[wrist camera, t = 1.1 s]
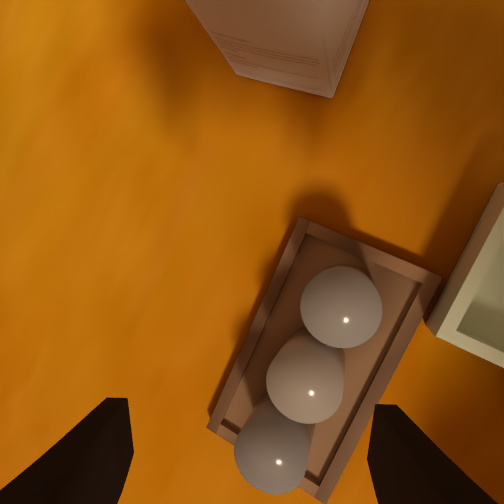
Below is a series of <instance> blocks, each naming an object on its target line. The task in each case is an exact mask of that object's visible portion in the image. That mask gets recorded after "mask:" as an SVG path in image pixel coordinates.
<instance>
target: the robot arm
mask: <svg viewBox="0 0 504 504" xmlns="http://www.w3.org/2000/svg"><path fill="white" fill-rule="evenodd" d="M133 454H134V449H133V441H132V432H131V424H130V415H129V407H128V399H127V398H106V399H105V400H104V401H102V402H101V403H100V404H99V405H98V406H97V407H96V408H95V409H94V410H92V411H91V412H90V413H89V414H88V415H87V416H86V417H85V418H84V419H82V420H81V421H80V422H79V423H78V424H77V425H76V426H75V427H74V428H73V429H72V430H70V431H69V432H68V433H67V434H66V435H65V436H64V437H63V438H62V439H60V440H59V441H58V442H57V443H56V444H55V445H54V446H52V447H51V448H50V449H49V450H48V451H47V452H46V453H44V454H43V455H42V456H41V457H40V458H39V459H38V460H36V461H35V462H34V463H33V464H32V465H30V466H29V467H28V468H27V469H26V470H24V471H23V472H22V473H21V474H19V475H18V476H17V477H16V478H15V479H13V480H12V481H11V482H10V483H9V484H7V485H6V486H5V487H4V488H2V489H1V490H0V504H117V503H118V500H119V498H120V496H121V493H122V490H123V487H124V484H125V481H126V478H127V475H128V471H129V468H130V464H131V461H132V458H133ZM367 461H368V465H369V469H370V474H371V478H372V482H373V486H374V490H375V493H376V497H377V501H378V503H379V504H498V503H497V502H495V501H494V500H493V499H492V498H491V497H490V496H489V495H488V494H487V493H485V492H484V491H483V490H482V489H481V488H480V487H479V486H478V485H477V484H476V483H474V482H473V481H472V480H471V479H470V478H469V477H468V476H467V475H466V474H465V473H464V472H463V471H462V470H461V469H460V468H459V467H458V466H457V465H456V464H455V463H453V462H452V461H451V460H450V459H449V458H448V457H447V456H446V455H445V454H444V453H443V452H442V451H441V450H440V449H439V448H438V447H437V446H436V445H435V444H434V443H433V442H432V441H431V440H430V439H429V438H428V437H427V436H426V435H425V434H424V432H423V431H422V430H421V429H420V428H419V427H418V426H417V425H416V424H415V423H414V422H413V421H412V420H411V419H410V418H409V417H408V416H407V415H406V414H405V413H404V412H403V411H402V410H401V409H400V408H399V407H398V406H397V405H387V404H375V408H374V415H373V422H372V429H371V436H370V442H369V449H368V456H367Z"/></svg>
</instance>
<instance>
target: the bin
mask: <svg viewBox="0 0 504 504" xmlns="http://www.w3.org/2000/svg"><path fill="white" fill-rule="evenodd" d="M425 325H426V326H427V327H428V328H429V329H430V330H431V332H432V333H433V334H434V335H435V336H436V337H438V338H440V339H443V340H445V341H447V342H449V343H451V344H453V345H455V346H458V347H460V348H462V349H464V350H466V351H468V352H470V353H472V354H475V355H477V356H479V357H481V358H483V359H485V360H487V361H490V362H492V363H494V364H496V365H498V366H500V367H502V368H504V182H502V183H499V184H498V185H497V187H496V188H495V190H494V192H493V194H492V196H491V198H490V200H489V202H488V204H487V206H486V208H485V210H484V212H483V214H482V215H481V217H480V219H479V221H478V223H477V225H476V227H475V229H474V231H473V233H472V235H471V237H470V239H469V241H468V243H467V244H466V246H465V248H464V250H463V252H462V254H461V256H460V258H459V260H458V262H457V264H456V266H455V268H454V270H453V271H452V273H451V275H450V277H449V279H448V281H447V283H446V285H445V287H444V289H443V291H442V293H441V295H440V297H439V298H438V300H437V302H436V304H435V306H434V308H433V310H432V312H431V314H430V316H429V318H428V320H427V322H426V324H425Z"/></svg>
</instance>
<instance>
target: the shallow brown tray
mask: <svg viewBox="0 0 504 504" xmlns="http://www.w3.org/2000/svg"><path fill="white" fill-rule="evenodd" d="M338 264H347V265H352V266H355V267H357V268H359V269H361V270H362V271H364V272H365V273H366V274H367V275H368V276H369V277H370V278H371V280H372V281H373V283H374V285H375V287H376V289H377V291H378V293H379V296H380V299H381V302H382V319H381V322H380V325H379V327H378V329H377V331H376V332H375V333H374V335H373V336H372V337H371V338H370V339H369V340H367V341H366V342H364V343H362V344H360V345H358V346H355V347H351V348H343V350H344V354H345V373H344V387H343V397H342V401H341V403H340V406H339V407H338V409H337V410H336V412H335V413H334V414H333V415H332V416H331V417H329V418H328V419H326V420H324V421H322V422H318V423H316V424H315V430H314V435H313V439H312V444H311V449H310V453H309V458H308V463H307V467H306V472H305V475H304V478H303V480H302V481H301V483H300V484H299V485H298V487H299V488H301V489H302V490H304V491H305V492H307V493H309V494H310V495H312V496H313V497H315V498H316V499H318V500H319V501H321V502H322V503H324V504H326V503H327V501H328V499H329V497H330V495H331V493H332V492H333V490H334V488H335V486H336V484H337V482H338V480H339V478H340V476H341V474H342V472H343V470H344V468H345V466H346V464H347V462H348V461H349V459H350V457H351V455H352V453H353V451H354V449H355V447H356V445H357V443H358V441H359V439H360V437H361V435H362V433H363V431H364V429H365V428H366V426H367V424H368V422H369V420H370V418H371V416H372V414H373V412H374V408H375V404H378V402H379V400H380V398H381V397H382V395H383V393H384V391H385V389H386V387H387V385H388V383H389V381H390V379H391V377H392V375H393V373H394V371H395V369H396V367H397V365H398V364H399V362H400V360H401V358H402V356H403V354H404V352H405V350H406V348H407V346H408V344H409V342H410V340H411V338H412V336H413V334H414V332H415V331H416V329H417V327H418V325H419V323H420V321H421V319H422V317H423V315H424V313H425V311H426V309H427V307H428V305H429V303H430V301H431V300H432V298H433V296H434V294H435V292H436V290H437V288H438V286H439V284H440V282H441V280H442V278H443V277H442V276H439V275H437V274H435V273H432V272H430V271H428V270H425V269H423V268H420V267H418V266H416V265H413V264H411V263H409V262H406V261H404V260H402V259H399V258H397V257H394V256H392V255H390V254H387V253H385V252H383V251H380V250H378V249H376V248H373V247H371V246H368V245H366V244H364V243H361V242H359V241H357V240H354V239H352V238H349V237H347V236H345V235H342V234H340V233H338V232H335V231H333V230H331V229H328V228H326V227H323V226H321V225H319V224H316V223H314V222H312V221H309V220H307V219H305V218H302V217H300V216H299V219H298V221H297V223H296V226H295V228H294V230H293V232H292V235H291V237H290V239H289V241H288V244H287V246H286V248H285V250H284V253H283V255H282V257H281V260H280V262H279V264H278V266H277V269H276V271H275V273H274V275H273V278H272V280H271V282H270V284H269V287H268V289H267V291H266V293H265V296H264V298H263V300H262V303H261V305H260V307H259V309H258V312H257V314H256V316H255V318H254V321H253V323H252V325H251V327H250V330H249V332H248V334H247V337H246V339H245V341H244V343H243V346H242V348H241V350H240V352H239V355H238V357H237V359H236V361H235V364H234V366H233V368H232V371H231V373H230V375H229V377H228V380H227V382H226V384H225V386H224V389H223V391H222V393H221V395H220V398H219V400H218V402H217V405H216V407H215V409H214V411H213V414H212V416H211V418H210V420H209V423H208V425H207V427H206V428H208V429H209V430H211V431H212V432H214V433H216V434H217V435H219V436H220V437H222V438H223V439H225V440H226V441H228V442H230V443H231V444H233V445H234V446H235V441H236V438H237V436H238V434H239V432H240V431H241V429H242V427H243V426H244V424H245V423H246V421H247V419H248V418H249V416H250V414H251V413H252V411H253V410H254V408H255V406H256V405H257V403H258V401H259V400H260V398H261V397H262V395H263V394H264V393H265V392H267V385H266V377H267V372H268V368H269V366H270V364H271V362H272V361H273V359H274V358H275V357H276V355H277V354H278V352H279V351H280V350H281V348H282V347H283V345H284V344H285V342H286V341H287V340H288V338H289V337H290V336H291V335H292V334H293V333H294V332H296V331H298V330H300V329H302V328H306V326H305V324H304V322H303V319H302V316H301V310H300V304H301V298H302V294H303V292H304V290H305V288H306V286H307V285H308V283H309V282H310V281H311V280H312V279H313V278H314V277H316V276H317V275H318V274H319V273H321V272H322V271H323V270H324V269H326V268H328V267H330V266H333V265H338Z"/></svg>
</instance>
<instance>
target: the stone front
mask: <svg viewBox="0 0 504 504" xmlns="http://www.w3.org/2000/svg"><path fill="white" fill-rule="evenodd" d="M300 310H301V316H302V319H303V322H304V324H305V326H306V328H307V329H308V331H309V332H310V333H311V334H312V335H313V336H314V337H315V338H316V339H317V340H319V341H320V342H322V343H324V344H326V345H328V346H332V347H336V348H351V347H355V346H358V345H360V344H362V343H364V342H366V341H367V340H369V339H370V338H371V337H372V336H373V335H374V333H375V332H376V331H377V329H378V327H379V325H380V322H381V319H382V302H381V299H380V296H379V293H378V291H377V289H376V287H375V285H374V283H373V281H372V280H371V278H370V277H369V276H368V275H367V274H366V273H365V272H364V271H362V270H361V269H359V268H357V267H355V266H352V265H347V264H338V265H333V266H330V267H328V268H326V269H324V270H323V271H322V272H321V273H319V274H318V275H317V276H316V277H314V278H313V279H312V280H311V281H310V282H309V283H308V285H307V286H306V288H305V290H304V292H303V294H302V298H301V304H300Z"/></svg>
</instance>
